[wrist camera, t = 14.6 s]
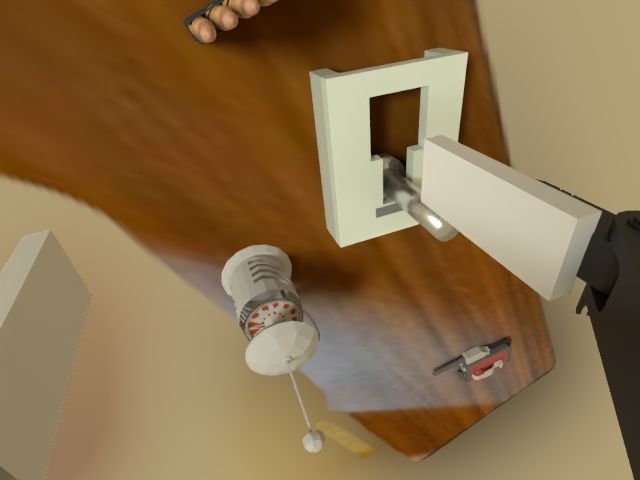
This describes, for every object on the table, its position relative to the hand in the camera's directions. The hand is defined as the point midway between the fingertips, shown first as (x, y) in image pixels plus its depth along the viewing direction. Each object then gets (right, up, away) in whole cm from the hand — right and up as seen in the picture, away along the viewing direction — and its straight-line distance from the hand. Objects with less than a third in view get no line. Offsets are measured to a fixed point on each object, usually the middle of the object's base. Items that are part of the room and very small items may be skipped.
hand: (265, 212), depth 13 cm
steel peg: (+10, +8, +35) cm, 37 cm away
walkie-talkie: (+36, -28, +70) cm, 83 cm away
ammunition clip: (-6, +21, +21) cm, 30 cm away
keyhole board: (+9, +11, +33) cm, 36 cm away
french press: (-6, -6, +38) cm, 39 cm away
